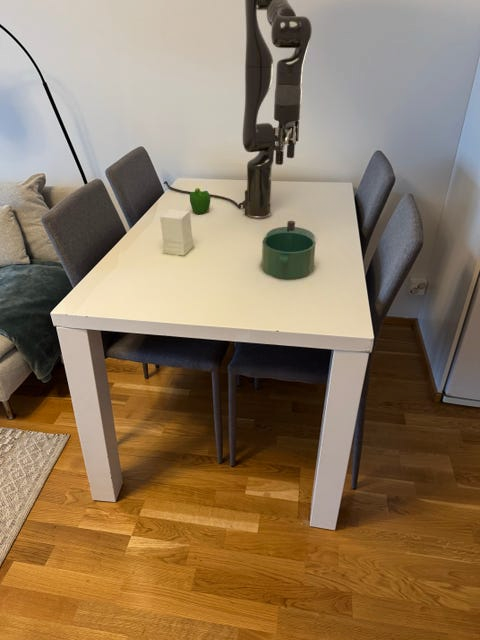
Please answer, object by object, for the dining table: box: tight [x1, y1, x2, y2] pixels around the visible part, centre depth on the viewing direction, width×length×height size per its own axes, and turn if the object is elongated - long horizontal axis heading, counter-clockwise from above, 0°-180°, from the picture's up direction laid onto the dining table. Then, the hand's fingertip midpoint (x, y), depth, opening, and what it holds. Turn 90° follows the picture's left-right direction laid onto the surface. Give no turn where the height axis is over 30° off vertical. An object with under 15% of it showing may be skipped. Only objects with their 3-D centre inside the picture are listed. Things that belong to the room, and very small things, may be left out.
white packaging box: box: [159, 208, 194, 256], centre depth 145 cm, size 7×7×13 cm
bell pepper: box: [189, 187, 211, 215], centre depth 176 cm, size 8×8×10 cm
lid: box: [266, 220, 315, 240], centre depth 155 cm, size 17×17×6 cm
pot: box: [261, 231, 317, 280], centre depth 135 cm, size 16×21×8 cm
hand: (284, 161), depth 135 cm, fingers open, 8 cm apart
